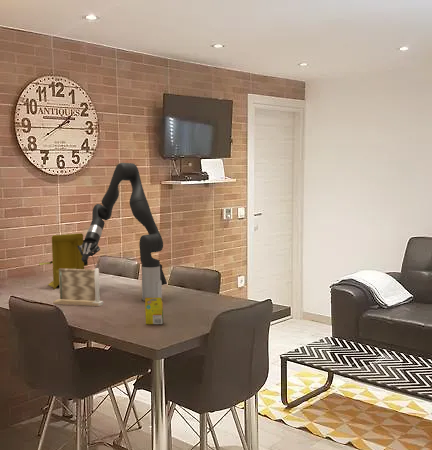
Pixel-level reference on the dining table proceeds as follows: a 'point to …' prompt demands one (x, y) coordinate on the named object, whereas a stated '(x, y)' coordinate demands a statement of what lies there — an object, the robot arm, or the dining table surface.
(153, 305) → the crayon box
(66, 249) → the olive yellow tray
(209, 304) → the dining table surface
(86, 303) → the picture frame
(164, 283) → the door stopper
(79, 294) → the beige zigzag patterned panel
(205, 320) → the dining table surface
